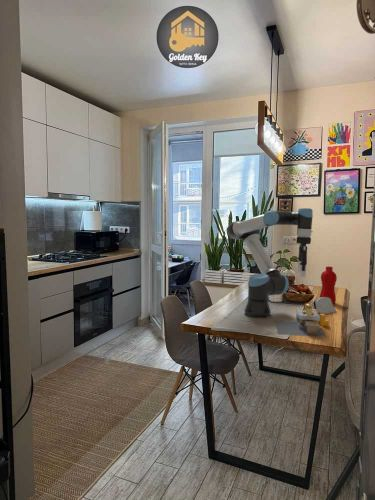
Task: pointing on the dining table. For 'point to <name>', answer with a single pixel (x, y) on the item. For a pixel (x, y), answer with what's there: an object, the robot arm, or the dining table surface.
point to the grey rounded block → (323, 305)
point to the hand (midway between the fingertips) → (301, 274)
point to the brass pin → (309, 309)
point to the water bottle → (328, 284)
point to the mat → (293, 329)
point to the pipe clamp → (322, 319)
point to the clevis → (308, 322)
